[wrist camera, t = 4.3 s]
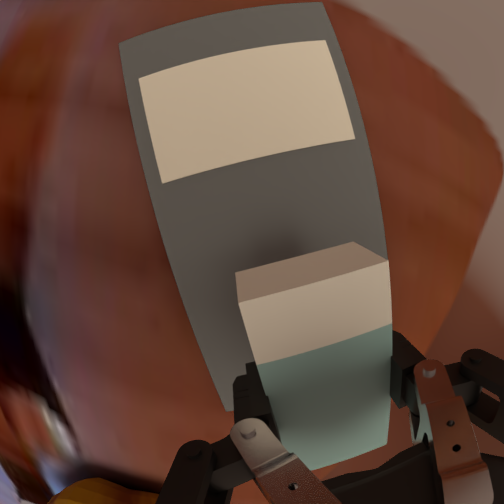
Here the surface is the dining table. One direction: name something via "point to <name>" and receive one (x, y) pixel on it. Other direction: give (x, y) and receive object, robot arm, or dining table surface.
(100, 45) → the dining table surface
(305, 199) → the mat
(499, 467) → the robot arm
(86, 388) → the dining table surface
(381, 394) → the two-tone rectangular block
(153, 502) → the decorative pumpkin
